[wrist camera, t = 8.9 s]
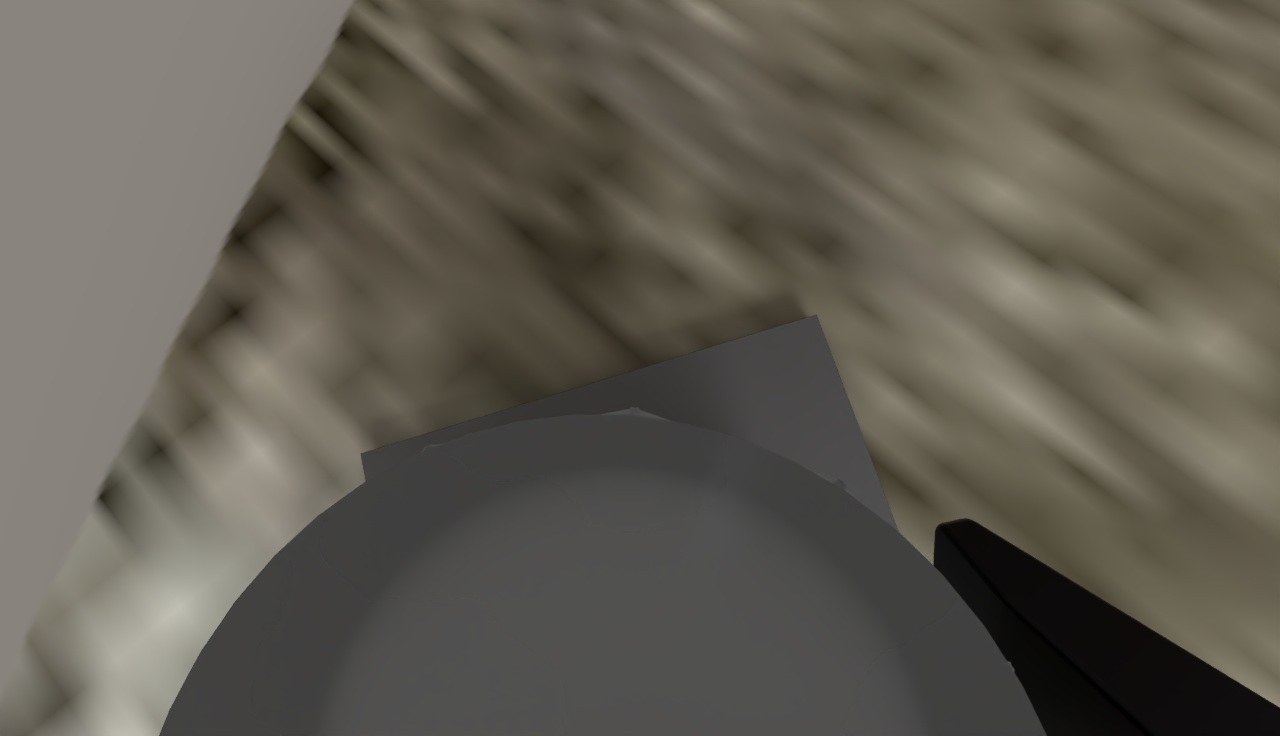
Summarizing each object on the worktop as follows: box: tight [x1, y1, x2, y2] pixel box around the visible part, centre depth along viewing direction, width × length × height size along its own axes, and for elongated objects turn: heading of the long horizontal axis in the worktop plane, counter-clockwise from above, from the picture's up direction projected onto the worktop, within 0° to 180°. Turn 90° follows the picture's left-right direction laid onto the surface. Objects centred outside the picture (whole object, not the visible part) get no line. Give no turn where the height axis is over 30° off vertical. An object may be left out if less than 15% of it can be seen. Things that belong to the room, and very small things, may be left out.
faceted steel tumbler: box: [159, 407, 1047, 736], centre depth 11 cm, size 7×7×12 cm
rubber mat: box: [361, 315, 899, 532], centre depth 16 cm, size 13×13×3 cm
